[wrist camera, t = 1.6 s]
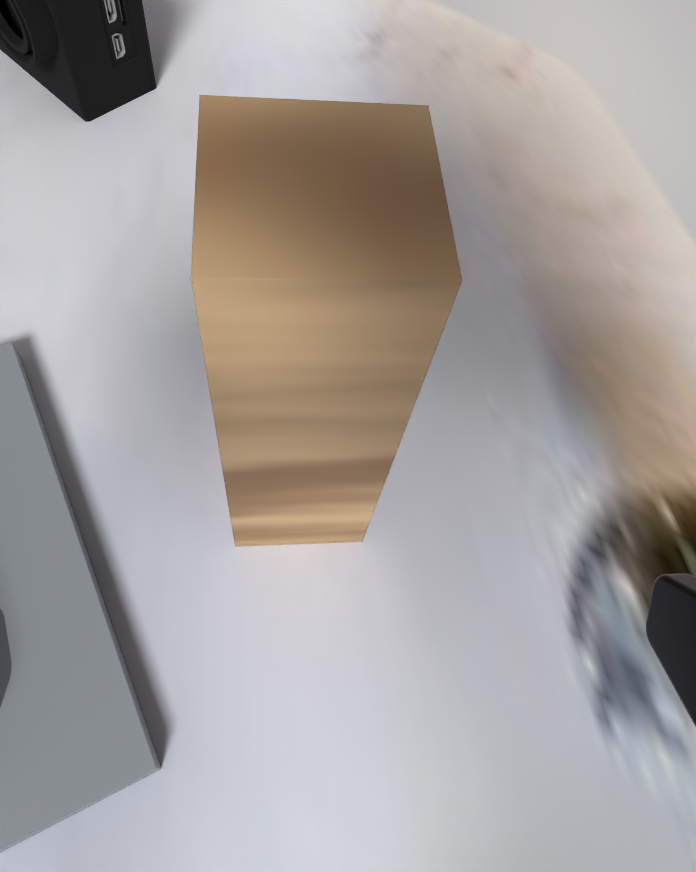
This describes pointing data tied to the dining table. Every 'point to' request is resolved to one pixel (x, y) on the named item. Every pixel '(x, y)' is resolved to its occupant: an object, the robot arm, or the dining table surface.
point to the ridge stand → (55, 642)
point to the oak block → (316, 302)
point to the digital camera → (81, 50)
